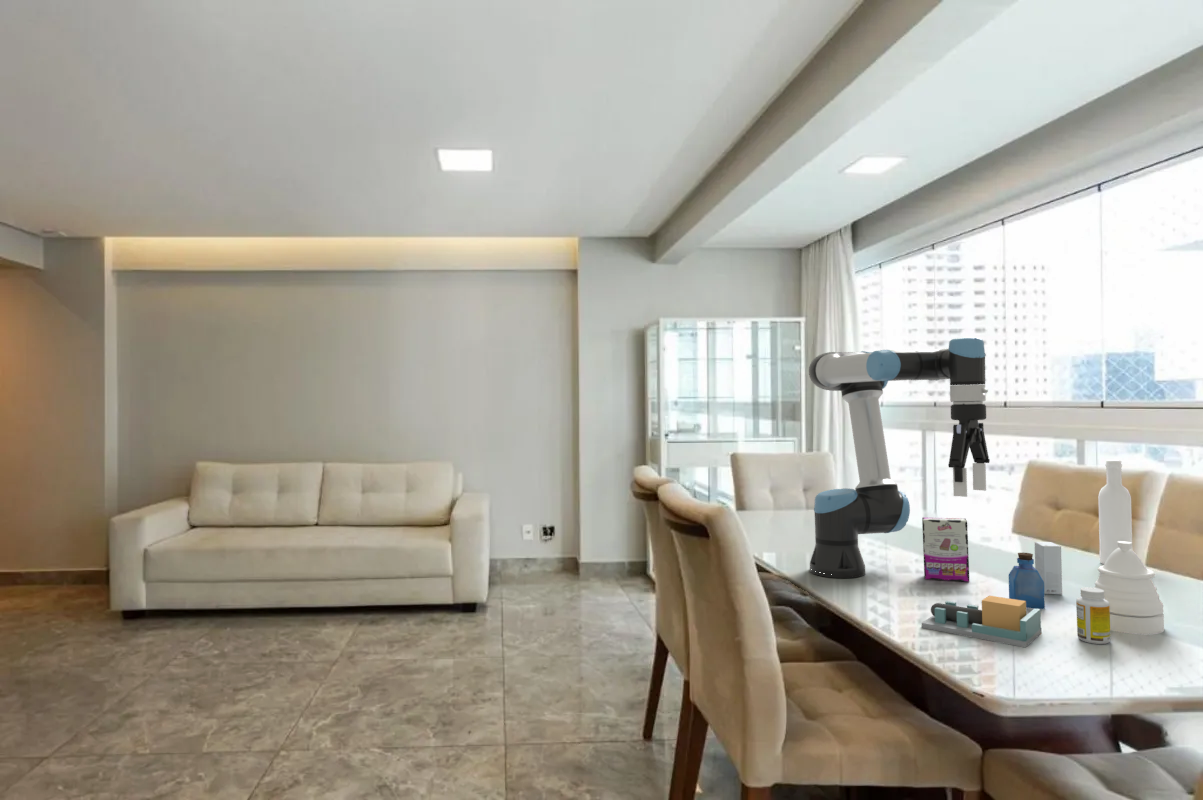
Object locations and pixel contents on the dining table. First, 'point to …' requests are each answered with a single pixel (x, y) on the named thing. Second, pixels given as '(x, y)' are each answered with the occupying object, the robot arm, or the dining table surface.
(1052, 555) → the skincare box
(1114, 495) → the bottle
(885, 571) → the dining table surface
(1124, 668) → the dining table surface
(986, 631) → the teal block plate
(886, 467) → the robot arm
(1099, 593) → the supplement bottle
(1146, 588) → the honey pot
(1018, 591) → the perfume bottle
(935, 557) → the candy bar box
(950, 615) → the orange cube-head hammer
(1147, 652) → the dining table surface
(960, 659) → the dining table surface
